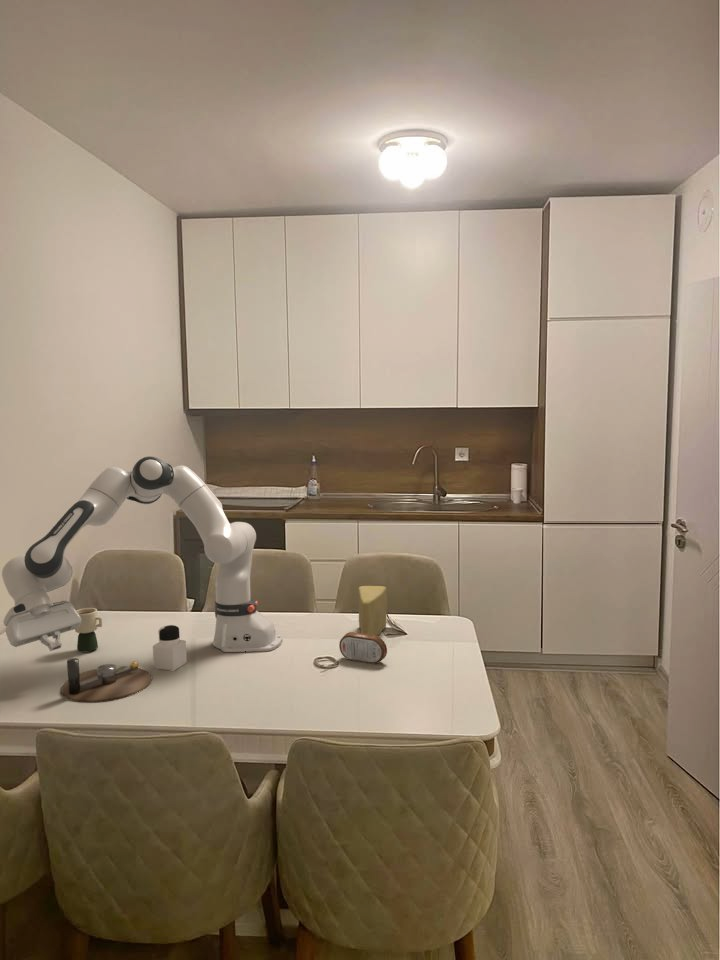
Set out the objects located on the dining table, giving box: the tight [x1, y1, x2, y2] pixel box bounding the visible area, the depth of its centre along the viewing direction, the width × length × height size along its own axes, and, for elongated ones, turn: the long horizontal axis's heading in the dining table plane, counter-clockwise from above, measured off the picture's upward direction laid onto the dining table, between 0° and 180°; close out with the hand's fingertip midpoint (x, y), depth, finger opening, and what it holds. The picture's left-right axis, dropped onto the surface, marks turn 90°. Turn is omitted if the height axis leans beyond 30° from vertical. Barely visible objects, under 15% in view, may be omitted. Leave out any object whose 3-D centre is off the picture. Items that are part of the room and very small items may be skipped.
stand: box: [61, 665, 153, 703], centre depth 211 cm, size 24×24×1 cm
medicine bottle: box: [152, 624, 187, 672], centre depth 224 cm, size 7×7×12 cm
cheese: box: [358, 585, 388, 637], centre depth 247 cm, size 22×10×15 cm, turn 173°
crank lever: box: [66, 657, 140, 694], centre depth 210 cm, size 5×22×9 cm, turn 147°
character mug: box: [74, 607, 103, 653], centre depth 239 cm, size 11×7×13 cm, turn 81°
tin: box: [339, 631, 388, 665], centre depth 226 cm, size 15×3×8 cm, turn 65°
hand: (56, 648), depth 209 cm, fingers closed
